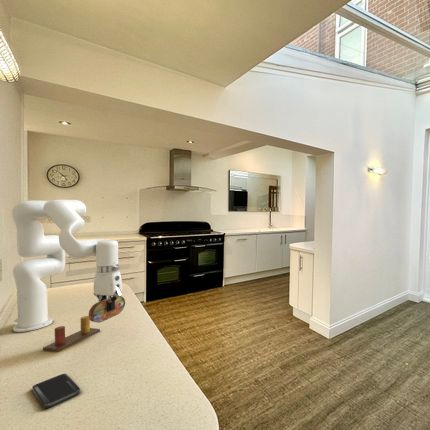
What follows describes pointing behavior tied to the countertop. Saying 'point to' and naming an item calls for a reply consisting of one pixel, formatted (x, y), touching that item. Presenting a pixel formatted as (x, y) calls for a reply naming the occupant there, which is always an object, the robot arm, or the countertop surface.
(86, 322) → the rod stand
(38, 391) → the phone
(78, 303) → the countertop surface
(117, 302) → the tin
